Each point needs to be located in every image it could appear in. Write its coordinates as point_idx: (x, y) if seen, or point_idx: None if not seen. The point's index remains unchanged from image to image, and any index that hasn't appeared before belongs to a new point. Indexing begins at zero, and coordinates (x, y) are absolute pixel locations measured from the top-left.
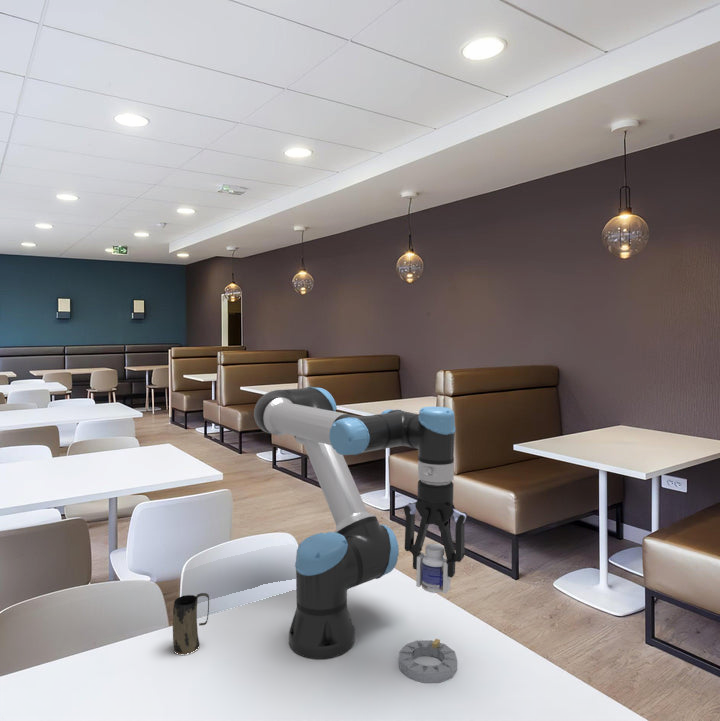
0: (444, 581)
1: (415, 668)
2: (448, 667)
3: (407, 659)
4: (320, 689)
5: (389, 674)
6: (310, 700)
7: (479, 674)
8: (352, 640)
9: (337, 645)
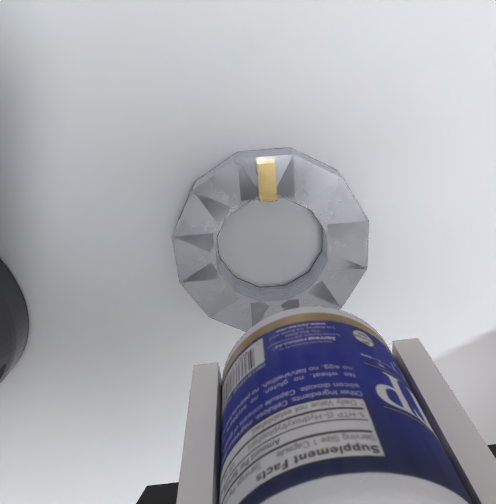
0: None
1: None
2: (355, 270)
3: (225, 302)
4: (99, 449)
5: (198, 331)
6: (111, 480)
7: (432, 194)
8: (9, 294)
9: (9, 364)
